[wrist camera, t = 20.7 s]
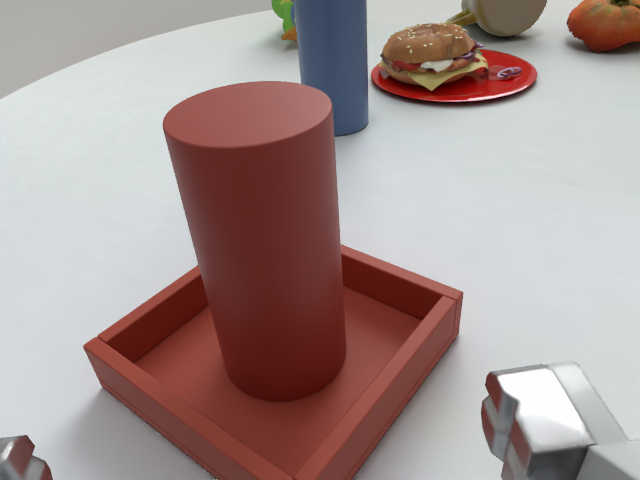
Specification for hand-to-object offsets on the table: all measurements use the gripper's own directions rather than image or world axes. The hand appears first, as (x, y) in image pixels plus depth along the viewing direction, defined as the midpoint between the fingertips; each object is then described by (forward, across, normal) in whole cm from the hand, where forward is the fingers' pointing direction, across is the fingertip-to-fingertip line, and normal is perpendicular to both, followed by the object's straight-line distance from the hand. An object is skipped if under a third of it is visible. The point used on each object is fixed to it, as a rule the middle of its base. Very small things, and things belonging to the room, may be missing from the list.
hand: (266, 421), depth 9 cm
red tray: (+9, 0, +8) cm, 12 cm away
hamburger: (+39, -16, +8) cm, 43 cm away
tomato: (+43, -33, +8) cm, 55 cm away
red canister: (+8, 0, +8) cm, 11 cm away
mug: (+52, -24, +8) cm, 58 cm away
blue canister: (+31, -5, +8) cm, 33 cm away
